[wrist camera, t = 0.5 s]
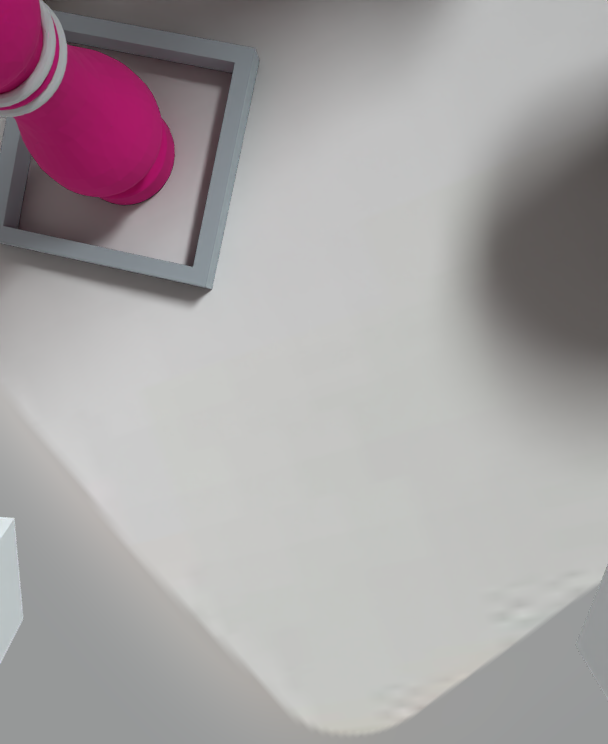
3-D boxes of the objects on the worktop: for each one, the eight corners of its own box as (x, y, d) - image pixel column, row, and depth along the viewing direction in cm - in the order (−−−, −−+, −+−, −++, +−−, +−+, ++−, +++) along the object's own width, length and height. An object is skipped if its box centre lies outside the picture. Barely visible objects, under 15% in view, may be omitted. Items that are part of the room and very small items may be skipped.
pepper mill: (46, 151, 36) (-334, -90, 16) (129, 69, 35) (-159, -290, 15) (122, 237, 36) (-165, 103, 16) (207, 157, 35) (19, -89, 15)
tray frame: (40, 19, 35) (26, 5, 34) (259, 60, 34) (255, 48, 33) (-1, 243, 36) (-16, 238, 35) (211, 289, 35) (205, 286, 34)
